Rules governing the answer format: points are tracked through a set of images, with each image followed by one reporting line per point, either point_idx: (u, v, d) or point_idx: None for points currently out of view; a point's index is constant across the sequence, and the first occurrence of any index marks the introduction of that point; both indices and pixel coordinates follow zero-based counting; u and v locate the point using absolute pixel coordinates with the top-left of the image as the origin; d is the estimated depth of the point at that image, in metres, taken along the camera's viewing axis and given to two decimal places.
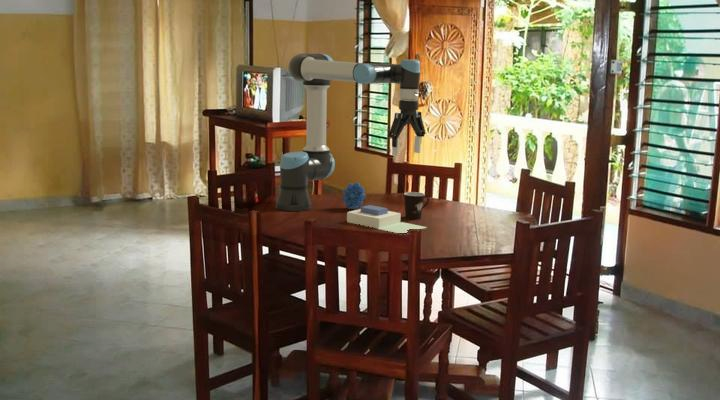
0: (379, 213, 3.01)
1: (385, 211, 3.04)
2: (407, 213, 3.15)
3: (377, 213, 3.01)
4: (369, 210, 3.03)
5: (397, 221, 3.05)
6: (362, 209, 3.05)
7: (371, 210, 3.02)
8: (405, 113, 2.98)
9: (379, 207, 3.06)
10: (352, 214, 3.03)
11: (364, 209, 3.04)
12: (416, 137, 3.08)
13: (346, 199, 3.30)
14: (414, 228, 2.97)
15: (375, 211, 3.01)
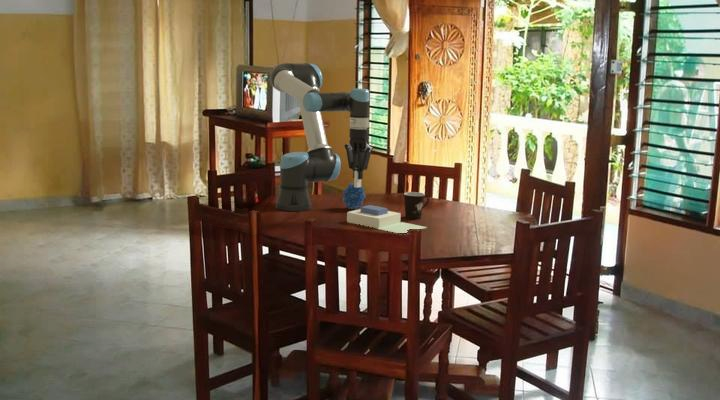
0: (379, 213, 3.01)
1: (385, 211, 3.04)
2: (407, 213, 3.15)
3: (377, 213, 3.01)
4: (369, 210, 3.03)
5: (397, 221, 3.05)
6: (362, 209, 3.05)
7: (371, 210, 3.02)
8: (350, 140, 3.07)
9: (379, 207, 3.06)
10: (352, 214, 3.03)
11: (364, 209, 3.04)
12: None
13: (346, 199, 3.30)
14: (414, 228, 2.97)
15: (375, 211, 3.01)
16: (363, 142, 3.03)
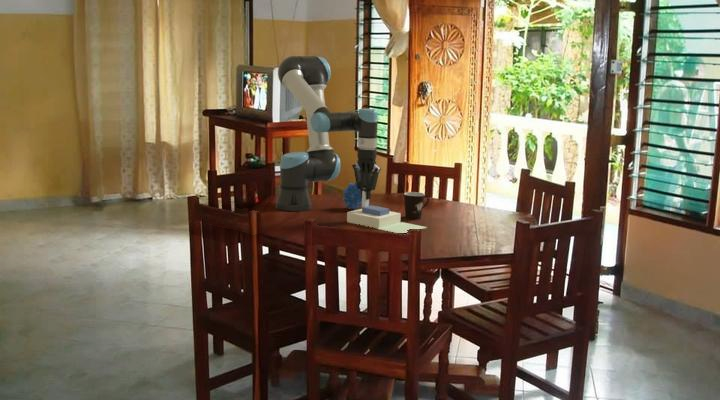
0: (381, 213, 3.00)
1: (386, 212, 3.03)
2: (407, 213, 3.15)
3: (379, 213, 3.00)
4: (371, 210, 3.02)
5: (397, 221, 3.05)
6: (364, 209, 3.05)
7: (373, 210, 3.02)
8: (358, 160, 3.06)
9: (381, 207, 3.05)
10: (352, 214, 3.03)
11: (366, 209, 3.04)
12: None
13: (346, 199, 3.30)
14: (414, 228, 2.97)
15: (377, 211, 3.01)
16: (371, 162, 3.01)
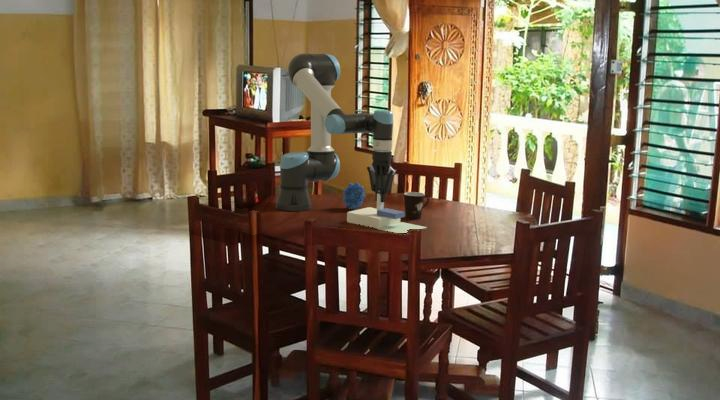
0: (396, 217, 2.96)
1: (402, 215, 2.99)
2: (407, 213, 3.15)
3: (394, 217, 2.96)
4: (386, 213, 2.98)
5: (397, 221, 3.05)
6: (379, 212, 3.00)
7: (388, 213, 2.97)
8: (372, 163, 3.01)
9: (396, 210, 3.01)
10: (352, 214, 3.03)
11: (381, 212, 2.99)
12: None
13: (346, 199, 3.30)
14: (414, 228, 2.97)
15: (392, 214, 2.96)
16: (386, 165, 2.97)
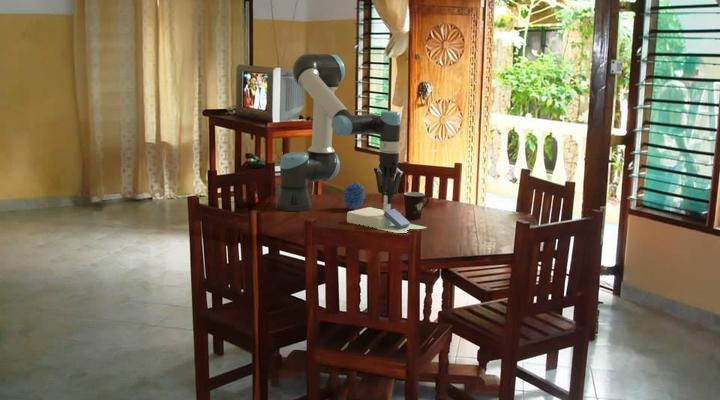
0: (401, 227, 2.95)
1: (406, 225, 2.98)
2: (407, 213, 3.15)
3: (399, 226, 2.95)
4: (392, 219, 2.96)
5: None
6: (386, 214, 2.98)
7: (394, 220, 2.96)
8: (379, 164, 2.99)
9: (402, 217, 3.00)
10: (352, 214, 3.03)
11: (388, 215, 2.98)
12: None
13: (346, 199, 3.30)
14: (414, 228, 2.97)
15: (398, 224, 2.95)
16: (393, 166, 2.95)
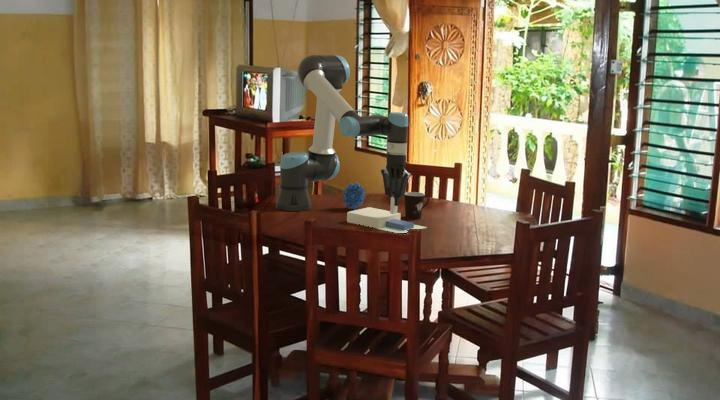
0: (405, 228, 2.94)
1: (411, 226, 2.97)
2: (407, 213, 3.15)
3: (403, 228, 2.94)
4: (395, 225, 2.96)
5: None
6: (387, 223, 2.98)
7: (397, 225, 2.95)
8: (387, 165, 2.97)
9: (405, 221, 2.99)
10: (352, 214, 3.03)
11: (390, 223, 2.98)
12: None
13: (346, 199, 3.30)
14: (414, 228, 2.97)
15: (401, 226, 2.94)
16: (401, 168, 2.93)
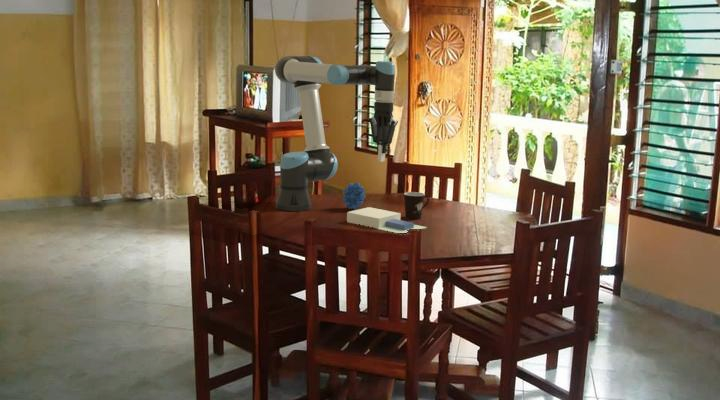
0: (405, 228, 2.94)
1: (411, 226, 2.97)
2: (407, 213, 3.15)
3: (403, 228, 2.94)
4: (395, 225, 2.96)
5: None
6: (387, 223, 2.98)
7: (397, 225, 2.95)
8: (374, 114, 3.04)
9: (405, 221, 2.99)
10: (352, 214, 3.03)
11: (390, 223, 2.98)
12: None
13: (346, 199, 3.30)
14: (414, 228, 2.97)
15: (401, 226, 2.94)
16: (388, 115, 2.99)
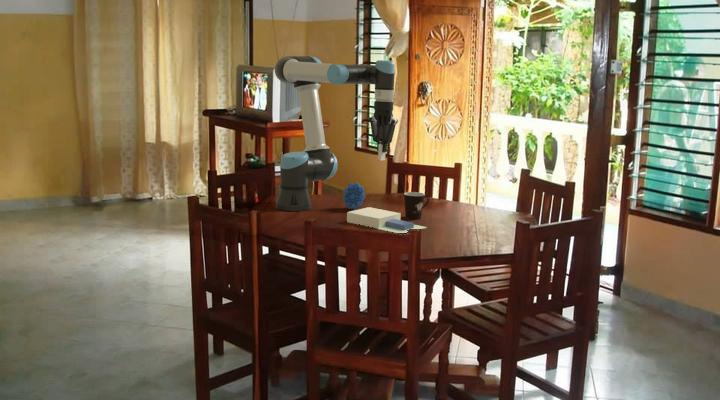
0: (405, 228, 2.94)
1: (411, 226, 2.97)
2: (407, 213, 3.15)
3: (403, 228, 2.94)
4: (395, 225, 2.96)
5: None
6: (387, 223, 2.98)
7: (397, 225, 2.95)
8: (374, 113, 3.04)
9: (405, 221, 2.99)
10: (352, 214, 3.03)
11: (390, 223, 2.98)
12: None
13: (346, 199, 3.30)
14: (414, 228, 2.97)
15: (401, 226, 2.94)
16: (388, 115, 3.00)
